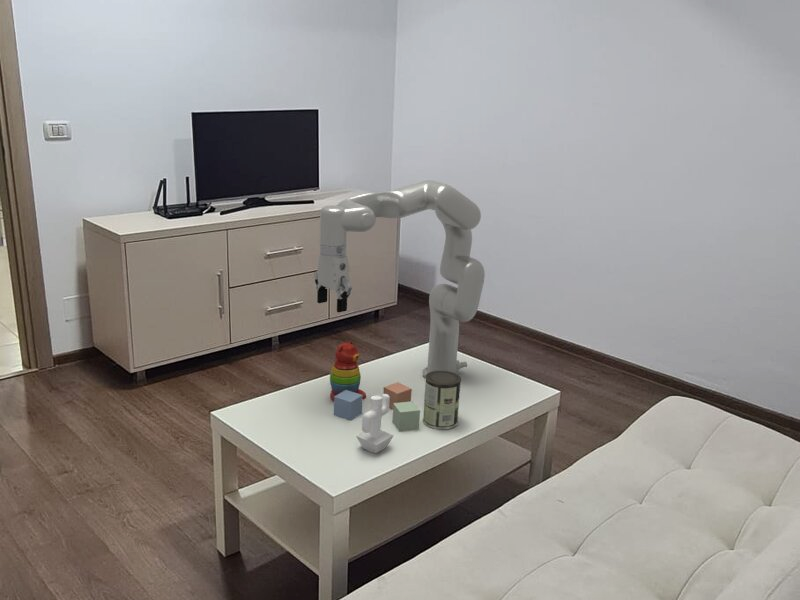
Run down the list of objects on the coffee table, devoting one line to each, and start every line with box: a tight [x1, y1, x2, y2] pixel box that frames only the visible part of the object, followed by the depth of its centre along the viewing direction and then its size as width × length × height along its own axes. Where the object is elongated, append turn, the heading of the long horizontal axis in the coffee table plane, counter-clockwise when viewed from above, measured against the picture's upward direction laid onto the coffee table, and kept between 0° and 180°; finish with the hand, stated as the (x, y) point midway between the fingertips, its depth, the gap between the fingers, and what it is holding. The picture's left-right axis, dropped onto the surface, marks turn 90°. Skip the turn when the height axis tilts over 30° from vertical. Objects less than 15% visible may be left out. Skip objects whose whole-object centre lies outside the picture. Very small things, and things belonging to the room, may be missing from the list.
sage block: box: [392, 400, 421, 432], centre depth 213 cm, size 6×6×6 cm
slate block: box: [333, 390, 364, 421], centre depth 218 cm, size 6×6×6 cm
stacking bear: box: [329, 341, 367, 403], centre depth 226 cm, size 11×10×18 cm
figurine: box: [356, 394, 394, 454], centre depth 198 cm, size 7×9×15 cm
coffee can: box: [422, 371, 462, 430], centre depth 215 cm, size 10×10×14 cm
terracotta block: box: [382, 381, 413, 411], centre depth 225 cm, size 6×6×6 cm
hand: (331, 306), depth 216 cm, fingers open, 9 cm apart
